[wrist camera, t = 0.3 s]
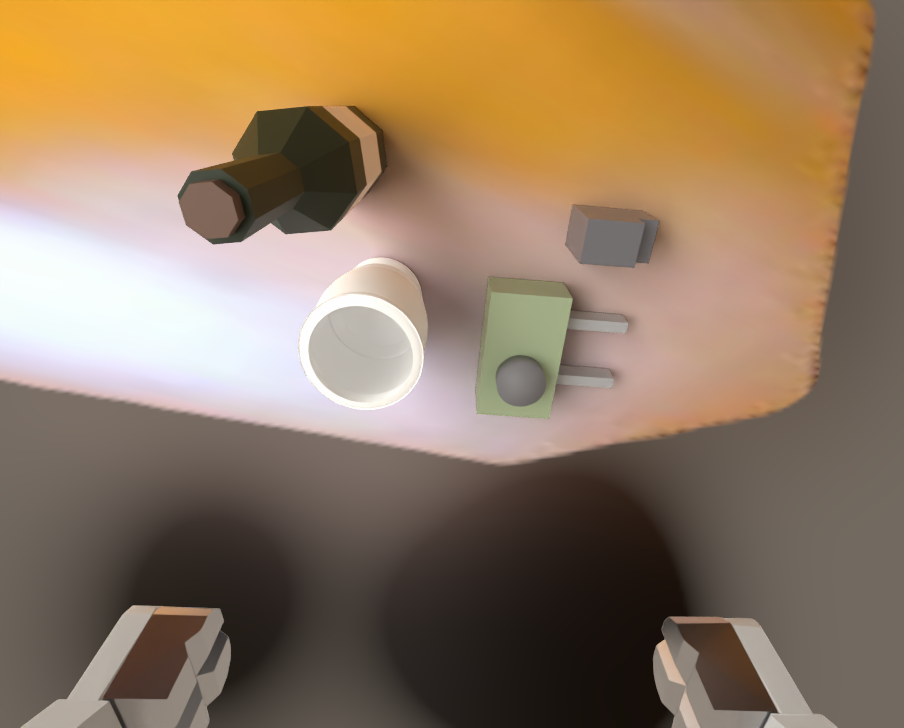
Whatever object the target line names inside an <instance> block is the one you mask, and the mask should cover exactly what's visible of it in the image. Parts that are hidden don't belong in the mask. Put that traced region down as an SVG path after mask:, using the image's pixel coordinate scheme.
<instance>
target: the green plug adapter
mask: <svg viewBox="0 0 904 728" xmlns="http://www.w3.org/2000/svg"><path fill="white" fill-rule="evenodd" d="M572 300H573V298H572V296H571V295H570V293H569V291H568V290H567V288H566V286H565V285H564V283H562V282H549V281H537V280H524V279H512V278H499V277H488V285H487V293H486V302H485V311H484V319H483V328H482V337H481V345H480V354H479V363H478V371H477V380H476V389H475V395H476V410H477V414H486V415H501V416H515V417H529V418H543V419H549V417H550V412H551V407H552V402H553V397H554V392H555V387H556V384H560V385H574V386H588V387H601V388H612V386H613V382H614V378H613V376H612V374H611V372H610V371H609V369H608V368H594V367H581V366H568V365H560V361H561V356H562V351H563V346H564V341H565V336H566V331H567V329H573V330H586V331H599V332H612V333H625V334H626V331H627V327H628V322H627V321H626V319H625V318H624V317H623V315H622V314H610V313H597V312H584V311H572V310H571V306H572Z"/></svg>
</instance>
